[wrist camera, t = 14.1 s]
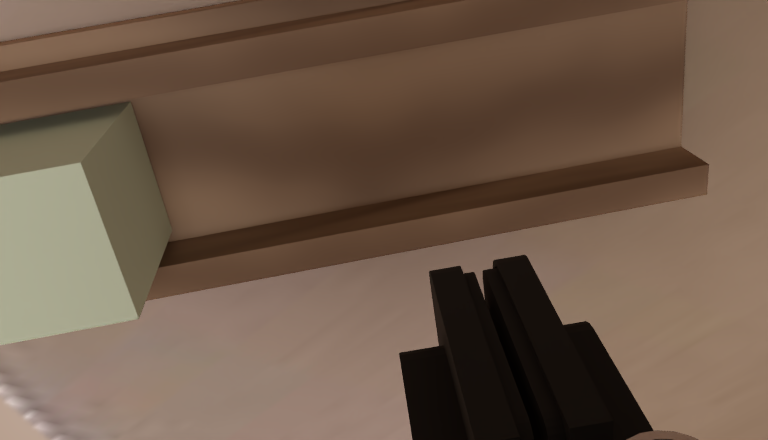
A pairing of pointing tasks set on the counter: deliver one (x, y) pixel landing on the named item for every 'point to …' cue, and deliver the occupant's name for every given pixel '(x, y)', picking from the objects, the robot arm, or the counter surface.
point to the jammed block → (76, 223)
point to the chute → (375, 121)
